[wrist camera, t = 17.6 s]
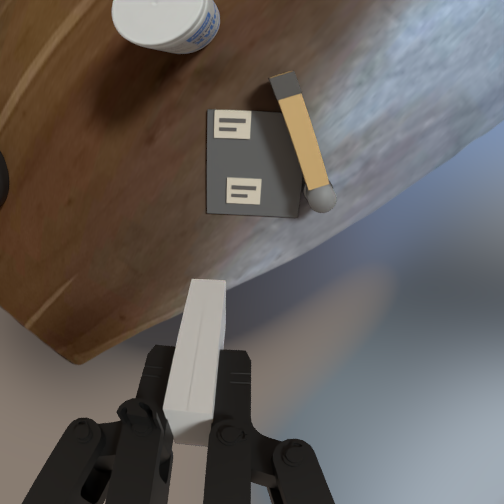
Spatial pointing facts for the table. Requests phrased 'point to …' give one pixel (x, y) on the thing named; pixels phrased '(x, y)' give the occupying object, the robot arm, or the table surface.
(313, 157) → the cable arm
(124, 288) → the table surface
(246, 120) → the label
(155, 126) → the table surface
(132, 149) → the table surface
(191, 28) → the supplement tub
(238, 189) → the label
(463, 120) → the table surface
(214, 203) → the mat
